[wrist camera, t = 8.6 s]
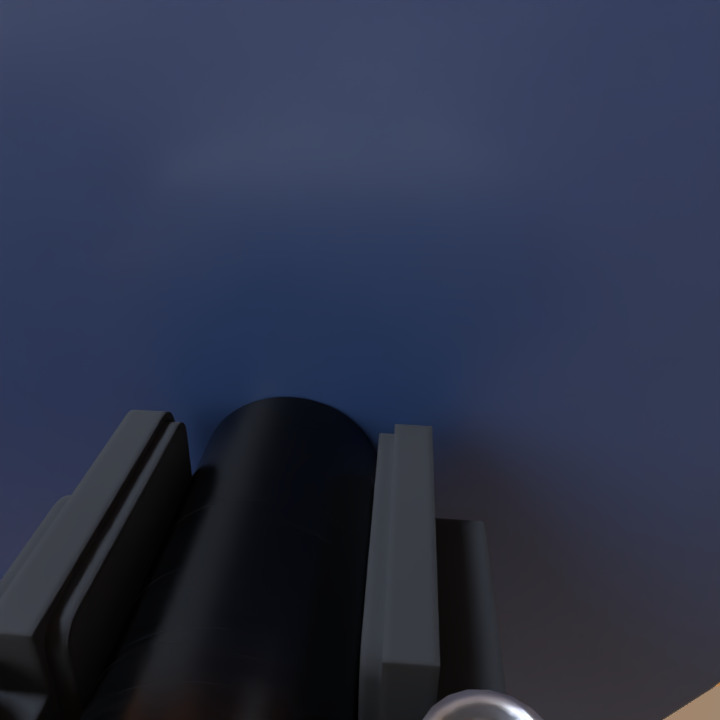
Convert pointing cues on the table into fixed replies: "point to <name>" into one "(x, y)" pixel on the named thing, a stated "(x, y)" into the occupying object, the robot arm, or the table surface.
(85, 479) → the robot arm
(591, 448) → the tin lid
